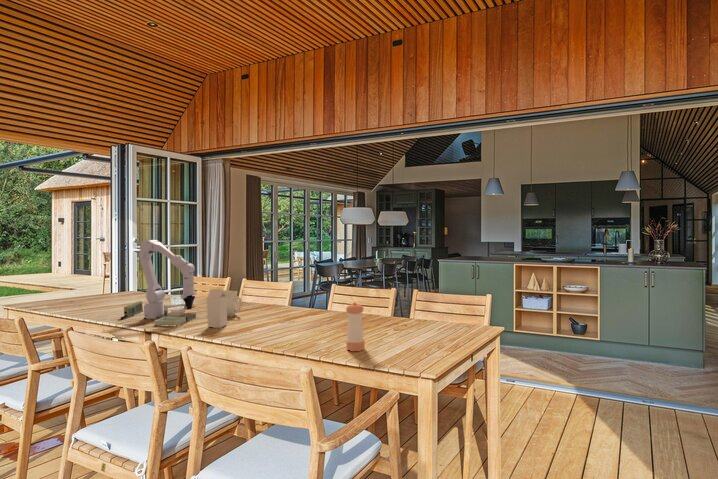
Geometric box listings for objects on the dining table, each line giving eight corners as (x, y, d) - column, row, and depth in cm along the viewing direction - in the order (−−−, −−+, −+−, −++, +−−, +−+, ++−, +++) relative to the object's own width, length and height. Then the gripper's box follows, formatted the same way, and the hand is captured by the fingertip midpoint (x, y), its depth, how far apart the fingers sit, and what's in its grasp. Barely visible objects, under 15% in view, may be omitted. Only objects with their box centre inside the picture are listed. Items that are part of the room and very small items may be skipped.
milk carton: (220, 328, 231) (219, 290, 231) (207, 327, 233) (206, 290, 232) (227, 325, 238) (226, 288, 238) (214, 324, 240) (213, 288, 239)
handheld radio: (143, 311, 282) (124, 320, 257) (138, 312, 281) (118, 320, 256) (143, 300, 281) (123, 308, 256) (137, 301, 281) (117, 308, 256)
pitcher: (235, 318, 255) (234, 293, 254) (211, 315, 263) (210, 291, 263) (248, 314, 265) (248, 290, 264) (225, 312, 273) (224, 289, 273)
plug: (170, 320, 253) (169, 309, 252) (175, 318, 258) (175, 307, 258) (180, 320, 252) (179, 309, 252) (185, 318, 258) (185, 307, 257)
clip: (164, 314, 255) (163, 305, 254) (163, 314, 256) (163, 305, 256) (193, 311, 262) (193, 302, 262) (193, 311, 264) (192, 302, 263)
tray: (154, 326, 239) (154, 320, 239) (164, 321, 249) (164, 316, 249) (176, 326, 238) (176, 320, 238) (185, 322, 248) (185, 316, 248)
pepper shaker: (364, 346, 192) (363, 300, 191) (365, 351, 184) (364, 303, 183) (346, 347, 191) (345, 301, 191) (346, 352, 184) (345, 304, 183)
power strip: (155, 321, 251) (155, 315, 251) (165, 317, 261) (165, 311, 261) (187, 321, 249) (187, 315, 249) (196, 317, 259) (195, 312, 259)
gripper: (188, 286, 251) (189, 311, 251) (201, 283, 265) (202, 306, 266) (176, 287, 252) (177, 311, 252) (189, 283, 266) (190, 306, 267)
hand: (189, 309), depth 259 cm, fingers closed
